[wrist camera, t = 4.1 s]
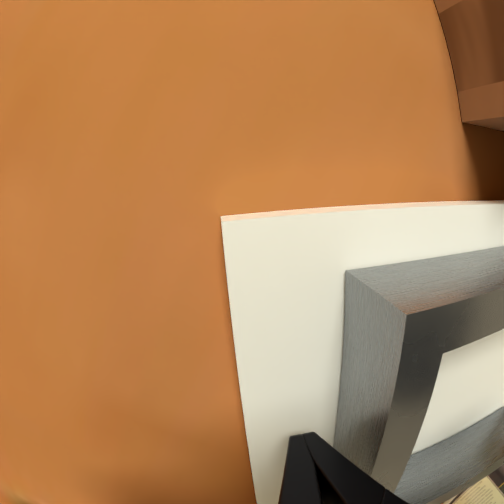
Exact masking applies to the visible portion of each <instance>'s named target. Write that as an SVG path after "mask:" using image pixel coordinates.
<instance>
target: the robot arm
mask: <svg viewBox="0 0 504 504" xmlns="http://www.w3.org/2000/svg"><path fill="white" fill-rule="evenodd" d="M278 504H410V503H408V502H406V501H404V500H403V499H401V498H400V497H398V496H397V495H395V494H394V493H392V492H391V491H390V490H388V489H385V487H384V486H383V485H381V484H380V483H378V482H377V481H376V480H374V479H373V478H372V477H370V476H369V475H368V474H366V473H365V472H364V471H362V470H361V469H360V468H359V467H357V466H356V465H355V464H353V463H352V462H351V461H350V460H348V459H347V458H346V457H344V456H343V455H342V454H341V453H339V452H338V451H337V450H336V449H335V448H333V447H332V446H331V445H330V444H328V443H327V442H326V441H325V440H324V439H322V438H321V437H320V436H319V435H318V434H316V433H315V432H308V433H303V434H297V435H292V436H290V437H289V442H288V448H287V455H286V461H285V467H284V473H283V479H282V484H281V490H280V495H279V501H278Z"/></svg>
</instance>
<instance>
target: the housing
mask: <svg viewBox="0 0 504 504" xmlns="http://www.w3.org/2000/svg"><path fill="white" fill-rule="evenodd" d="M502 329H504V246H500V247H494V248H488V249H482V250H477V251H471V252H465V253H459V254H453V255H446V256H440V257H434V258H427V259H421V260H414V261H408V262H401V263H394V264H387V265H380V266H373V267H366V268H359V269H352V270H345V316H344V338H343V355H342V369H341V381H340V392H339V402H338V412H337V420H336V429H335V436H334V444H333V448H335V449H336V450H337V451H338V452H339V453H341V454H342V455H343V456H344V457H346V458H347V459H348V460H350V461H351V462H352V463H353V464H355V465H356V466H357V467H359V468H360V469H361V470H362V471H364V472H365V473H366V474H368V475H369V476H370V477H372V478H373V479H374V480H376V481H377V482H378V483H380V484H381V485H383V486H384V487H385V489H388V490H390V491H391V492H392V493H394V494H395V495H397V496H398V497H400V498H401V499H403V500H404V501H406V502H408V503H410V504H442V503H444V502H446V501H447V500H449V499H451V498H453V497H454V496H456V495H458V494H460V493H461V492H463V491H465V490H466V489H468V488H469V487H471V486H473V485H474V484H476V483H477V482H479V481H480V480H482V479H483V478H485V477H486V476H488V475H489V474H491V473H492V472H493V471H495V470H496V469H498V468H499V467H500V466H502V465H503V464H504V406H503V407H502V408H500V409H499V410H497V411H495V412H494V413H492V414H491V415H489V416H487V417H486V418H484V419H482V420H481V421H479V422H477V423H476V424H474V425H472V426H470V427H469V428H467V429H465V430H463V431H461V432H459V433H457V434H456V435H454V436H452V437H450V438H448V439H446V440H444V441H442V442H440V443H438V444H435V445H433V446H431V447H429V448H427V449H425V450H422V451H420V452H418V453H415V454H413V455H411V454H412V451H413V449H414V446H415V443H416V441H417V438H418V435H419V433H420V430H421V427H422V424H423V421H424V419H425V416H426V413H427V409H428V406H429V403H430V400H431V397H432V393H433V390H434V386H435V383H436V379H437V375H438V371H439V367H440V363H441V359H442V355H443V353H446V352H449V351H452V350H454V349H457V348H459V347H462V346H464V345H467V344H470V343H472V342H474V341H477V340H479V339H482V338H484V337H486V336H489V335H491V334H493V333H495V332H498V331H500V330H502Z"/></svg>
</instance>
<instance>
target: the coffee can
mask: <svg viewBox="0 0 504 504" xmlns="http://www.w3.org/2000/svg"><path fill="white" fill-rule="evenodd" d="M443 504H504V464H503V465H502V466H500V467H499V468H498V469H496V470H495V471H493V472H492V473H491V474H489V475H488V476H486V477H485V478H483V479H482V480H480V481H479V482H477V483H476V484H474V485H473V486H471V487H469V488H468V489H466V490H465V491H463V492H461V493H460V494H458V495H456V496H454V497H453V498H451V499H449V500H447V501H446V502H444V503H443Z"/></svg>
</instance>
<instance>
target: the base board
mask: <svg viewBox="0 0 504 504" xmlns="http://www.w3.org/2000/svg"><path fill="white" fill-rule="evenodd" d="M221 227H222V237H223V247H224V257H225V267H226V276H227V286H228V295H229V304H230V313H231V321H232V330H233V338H234V346H235V355H236V363H237V370H238V378H239V386H240V393H241V401H242V408H243V416H244V423H245V430H246V437H247V444H248V450H249V457H250V464H251V470H252V477H253V483H254V489H255V496H256V502H257V504H278V501H279V495H280V490H281V484H282V479H283V473H284V467H285V461H286V455H287V448H288V442H289V437H290V436H292V435H297V434H303V433H308V432H315V433H316V434H318V435H319V436H320V437H321V438H322V439H324V440H325V441H326V442H327V443H328V444H330V445H331V446H332V447H333V444H334V436H335V429H336V420H337V412H338V402H339V392H340V381H341V369H342V355H343V338H344V316H345V270H352V269H359V268H366V267H373V266H380V265H387V264H394V263H401V262H408V261H414V260H421V259H427V258H434V257H440V256H446V255H453V254H459V253H465V252H471V251H477V250H482V249H488V248H494V247H500V246H504V200H493V201H443V202H414V203H391V204H372V205H354V206H338V207H323V208H309V209H296V210H283V211H271V212H260V213H249V214H238V215H228V216H221ZM503 406H504V329H502V330H500V331H498V332H495V333H493V334H491V335H489V336H486V337H484V338H482V339H479V340H477V341H474V342H472V343H470V344H467V345H464V346H462V347H459V348H457V349H454V350H452V351H449V352H446V353H443V355H442V359H441V363H440V367H439V371H438V375H437V379H436V383H435V386H434V390H433V393H432V397H431V400H430V403H429V406H428V409H427V413H426V416H425V419H424V421H423V424H422V427H421V430H420V433H419V435H418V438H417V441H416V443H415V446H414V449H413V451H412V454H411V455H413V454H415V453H418V452H420V451H422V450H425V449H427V448H429V447H431V446H433V445H435V444H438V443H440V442H442V441H444V440H446V439H448V438H450V437H452V436H454V435H456V434H457V433H459V432H461V431H463V430H465V429H467V428H469V427H470V426H472V425H474V424H476V423H477V422H479V421H481V420H482V419H484V418H486V417H487V416H489V415H491V414H492V413H494V412H495V411H497V410H499V409H500V408H502V407H503Z"/></svg>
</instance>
